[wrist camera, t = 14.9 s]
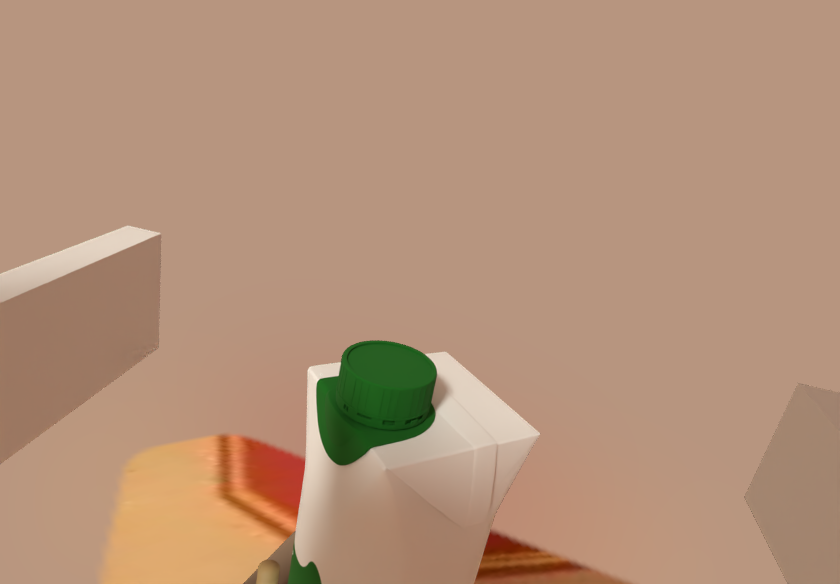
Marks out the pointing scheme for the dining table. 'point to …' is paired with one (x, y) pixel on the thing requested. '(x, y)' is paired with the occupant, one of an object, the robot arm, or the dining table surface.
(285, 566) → the pin base plate
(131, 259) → the robot arm
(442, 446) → the soya milk
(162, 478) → the dining table surface
